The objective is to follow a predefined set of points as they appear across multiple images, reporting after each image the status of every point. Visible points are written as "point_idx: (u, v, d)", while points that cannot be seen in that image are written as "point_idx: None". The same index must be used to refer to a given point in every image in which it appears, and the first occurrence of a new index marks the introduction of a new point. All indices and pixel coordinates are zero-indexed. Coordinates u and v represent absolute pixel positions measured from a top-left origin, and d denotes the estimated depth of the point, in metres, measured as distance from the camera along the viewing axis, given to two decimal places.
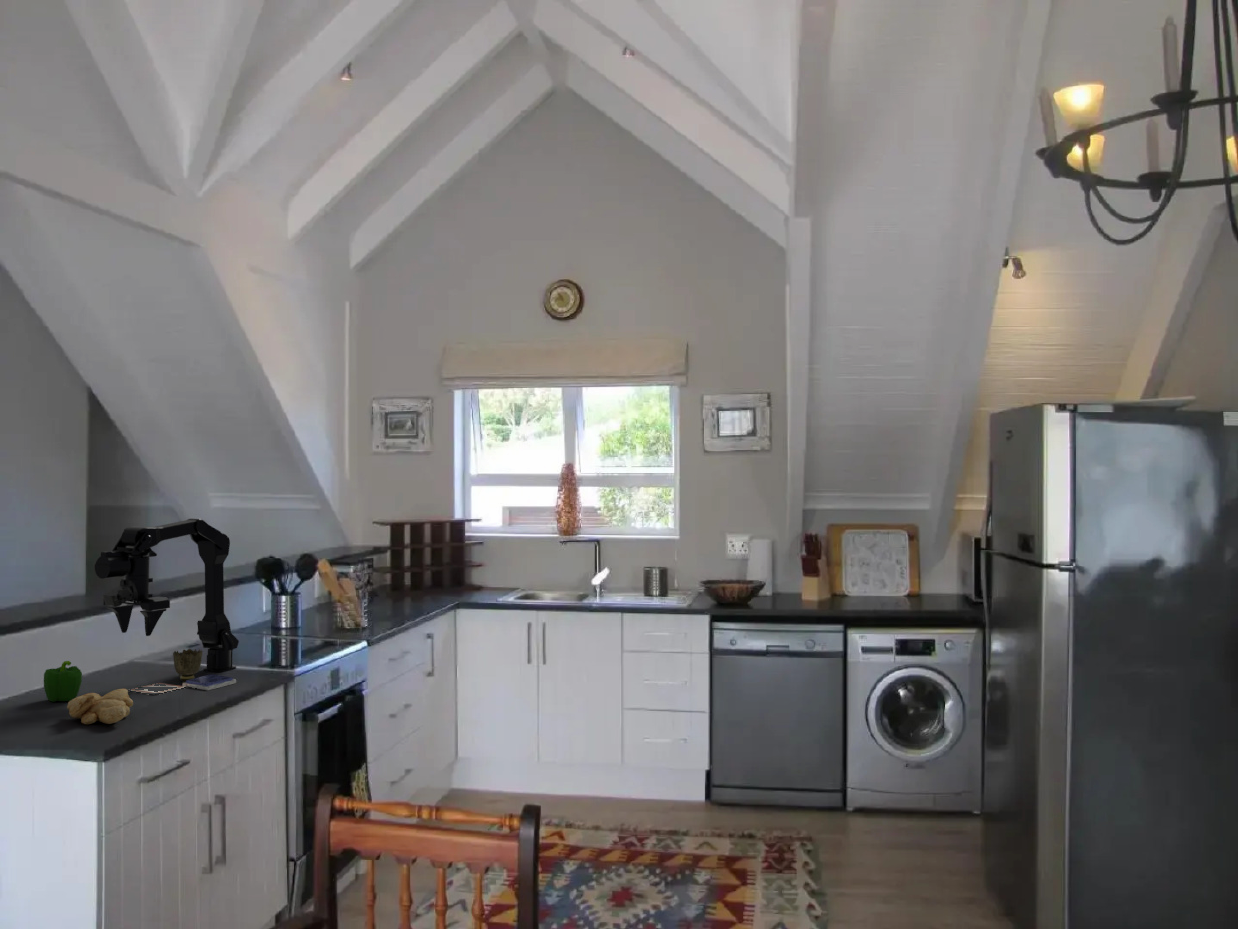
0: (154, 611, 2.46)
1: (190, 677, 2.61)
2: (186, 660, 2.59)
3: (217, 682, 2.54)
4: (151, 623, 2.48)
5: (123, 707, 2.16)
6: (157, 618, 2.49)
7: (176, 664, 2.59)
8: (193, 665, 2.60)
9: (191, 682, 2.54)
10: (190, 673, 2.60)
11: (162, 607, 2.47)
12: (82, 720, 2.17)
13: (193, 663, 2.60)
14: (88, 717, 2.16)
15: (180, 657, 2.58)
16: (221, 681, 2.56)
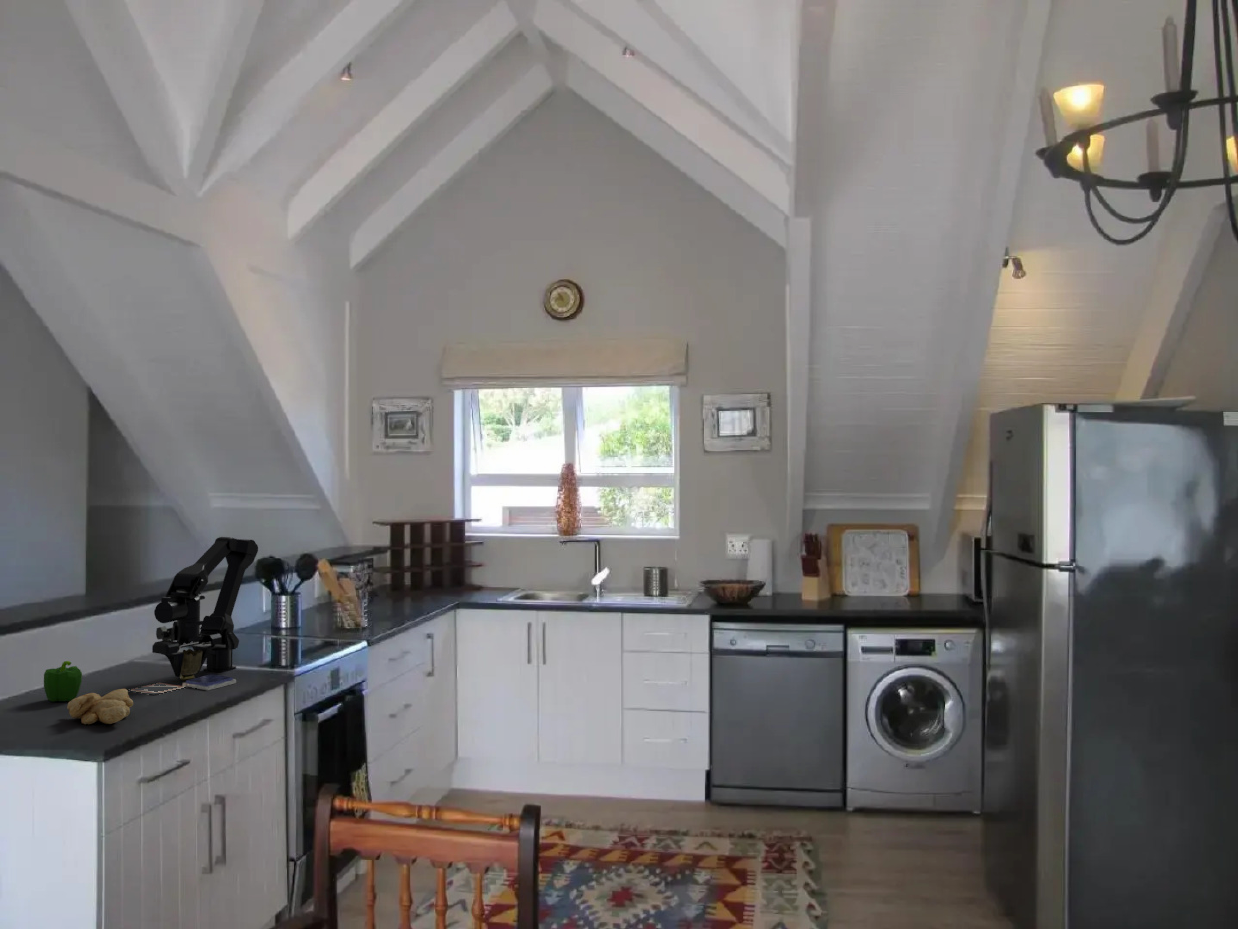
0: (164, 653, 2.56)
1: (190, 677, 2.61)
2: (186, 660, 2.59)
3: (217, 682, 2.54)
4: (175, 665, 2.58)
5: (123, 707, 2.16)
6: (177, 661, 2.57)
7: None
8: (193, 665, 2.60)
9: (191, 682, 2.54)
10: (190, 673, 2.60)
11: (160, 652, 2.53)
12: (82, 720, 2.17)
13: (193, 663, 2.60)
14: (88, 718, 2.16)
15: None
16: (221, 681, 2.56)
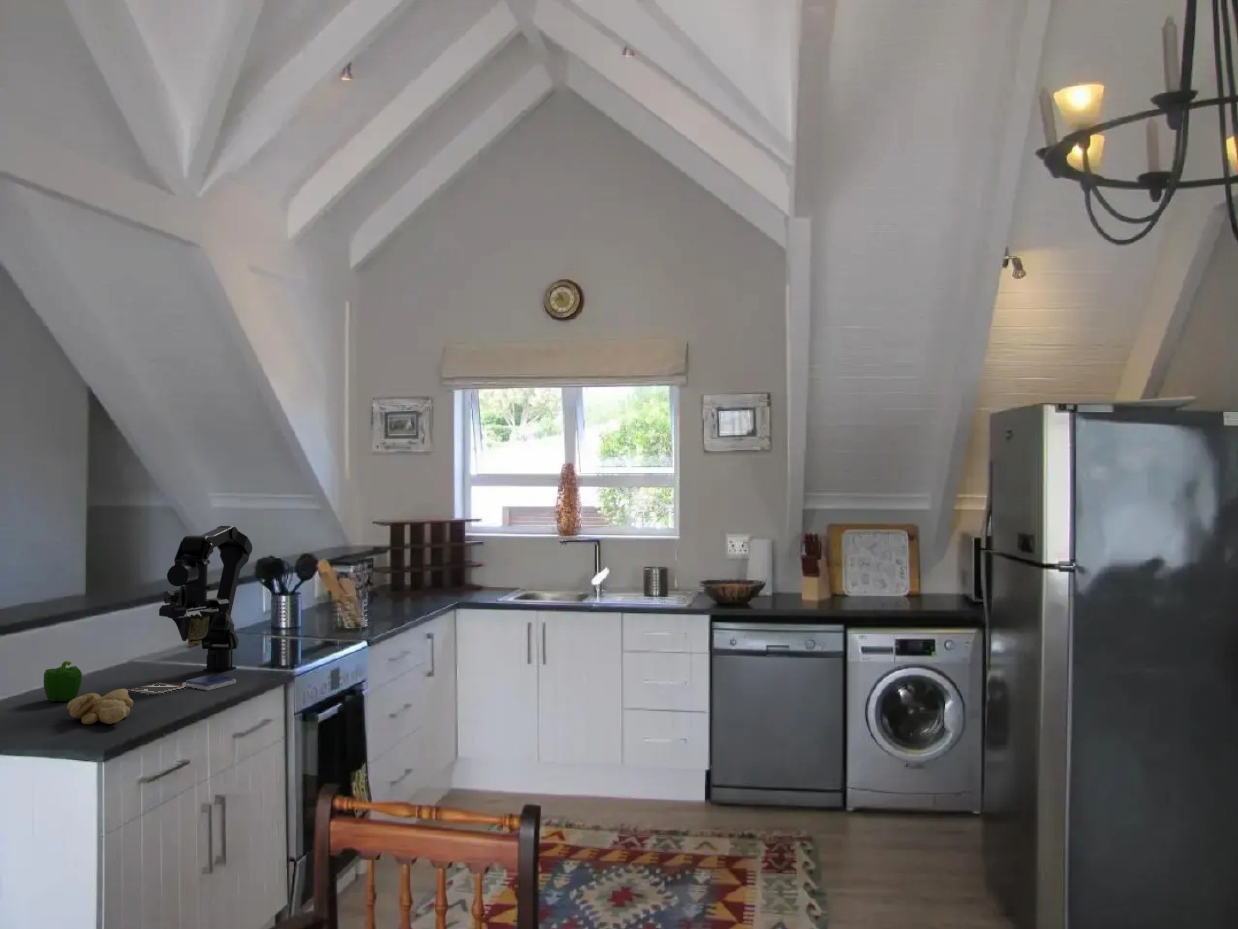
0: (171, 617, 2.55)
1: (197, 642, 2.59)
2: (193, 624, 2.57)
3: (217, 682, 2.54)
4: (182, 629, 2.56)
5: (123, 707, 2.16)
6: (183, 625, 2.55)
7: None
8: (200, 629, 2.58)
9: (191, 682, 2.54)
10: (197, 637, 2.58)
11: (166, 615, 2.52)
12: (82, 720, 2.17)
13: (200, 628, 2.58)
14: (88, 718, 2.16)
15: None
16: (221, 681, 2.56)
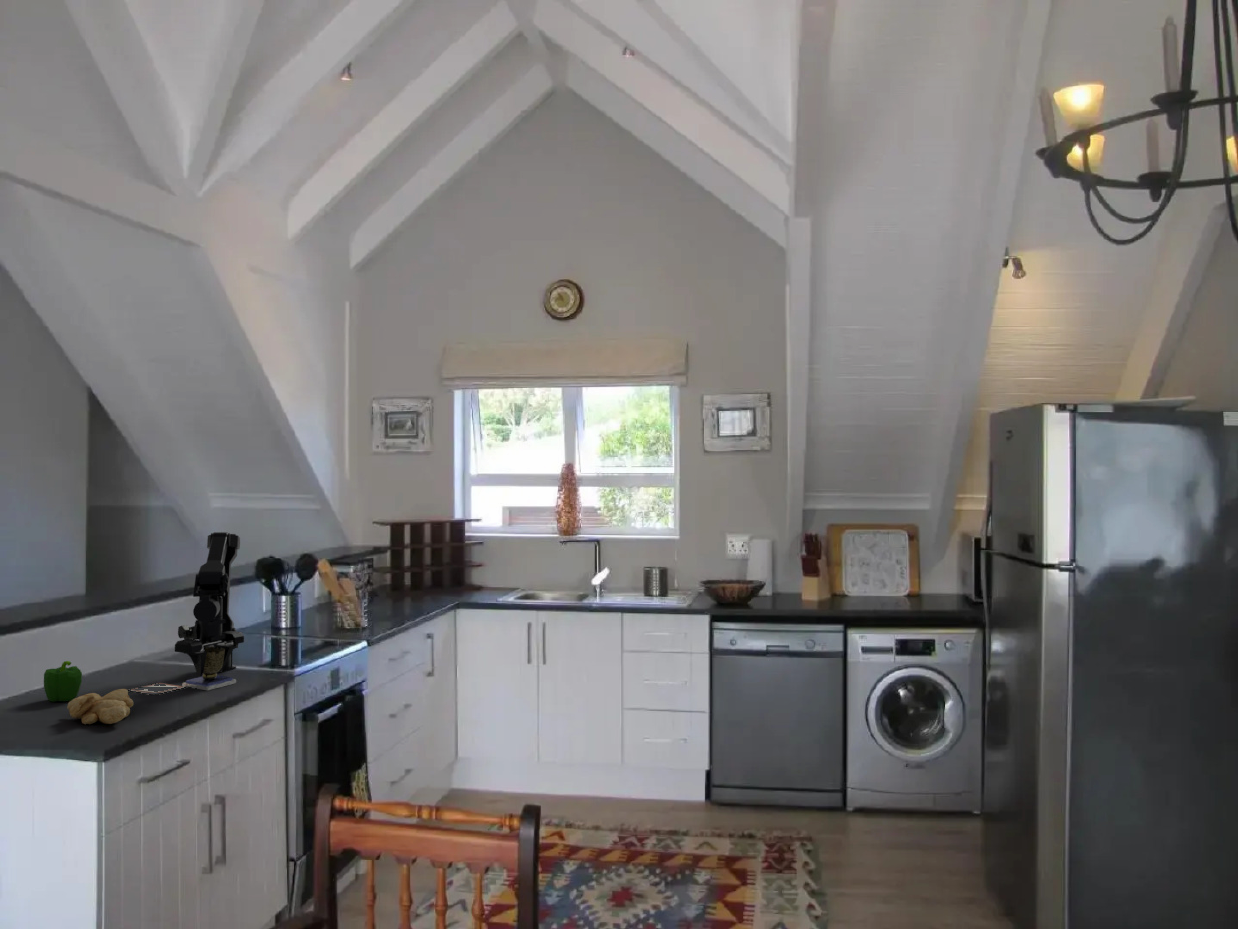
0: (187, 652, 2.52)
1: (212, 675, 2.56)
2: (209, 658, 2.54)
3: (217, 682, 2.54)
4: (197, 665, 2.53)
5: (123, 707, 2.16)
6: (199, 661, 2.52)
7: None
8: (216, 663, 2.55)
9: (191, 682, 2.54)
10: (213, 671, 2.55)
11: (182, 651, 2.49)
12: (82, 720, 2.17)
13: (216, 662, 2.55)
14: (89, 718, 2.16)
15: None
16: (221, 681, 2.56)
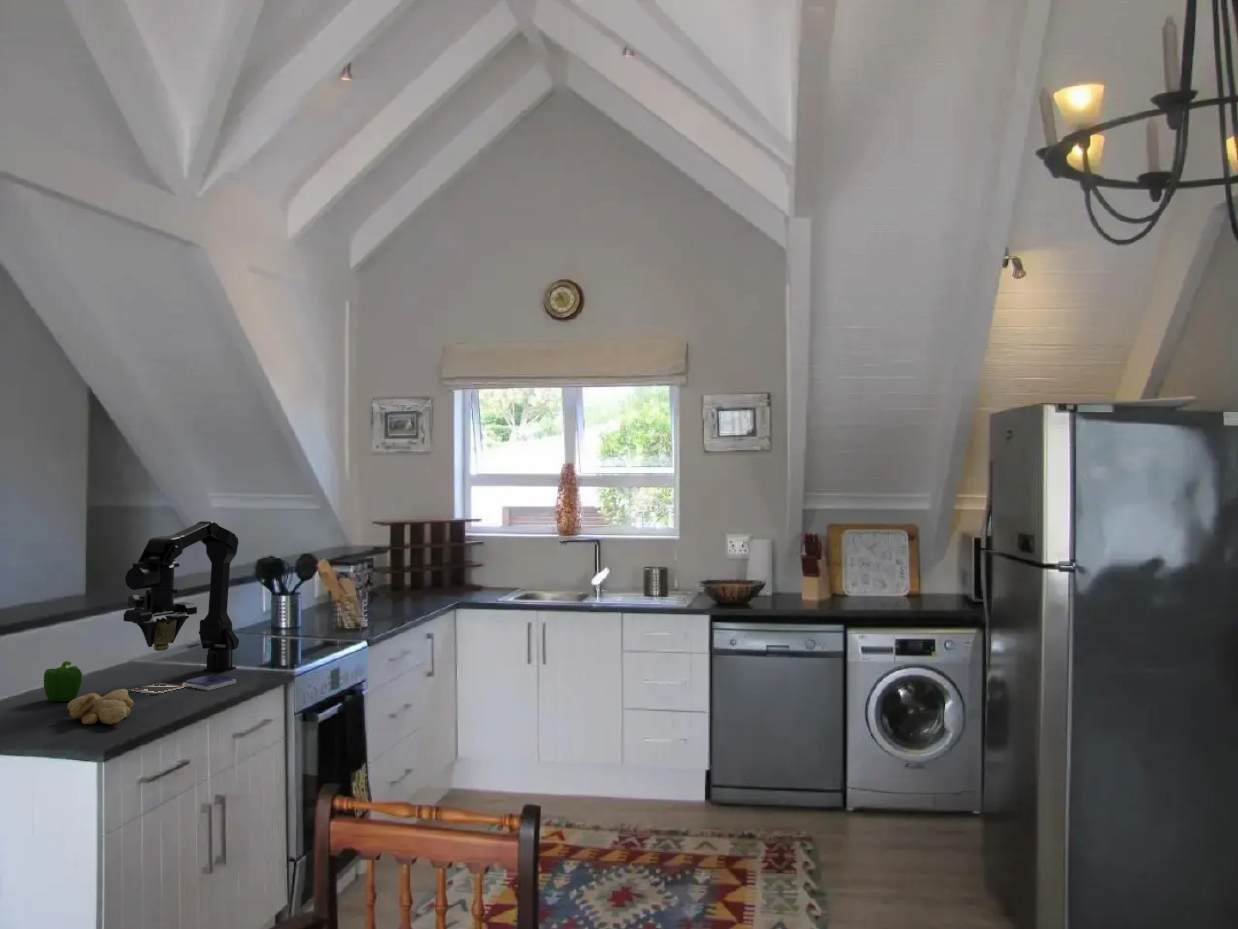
0: None
1: (164, 646, 2.50)
2: (159, 629, 2.48)
3: (217, 682, 2.54)
4: (147, 635, 2.47)
5: (123, 707, 2.16)
6: (149, 631, 2.46)
7: None
8: (167, 633, 2.49)
9: (191, 682, 2.54)
10: (164, 642, 2.49)
11: (131, 620, 2.42)
12: (82, 720, 2.17)
13: (167, 632, 2.49)
14: (89, 718, 2.16)
15: None
16: (221, 681, 2.56)
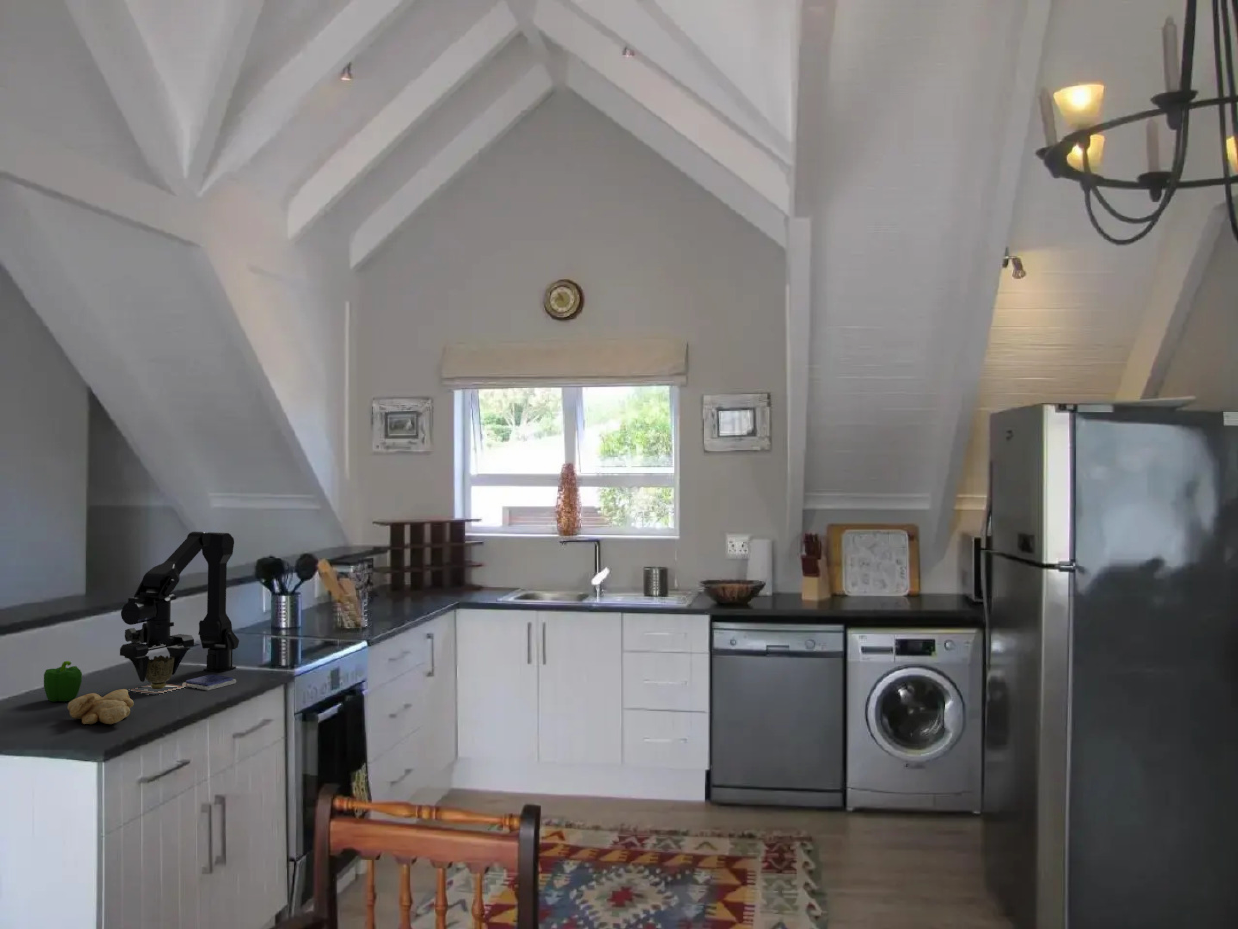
0: (128, 657, 2.44)
1: (161, 685, 2.50)
2: (157, 667, 2.48)
3: (217, 682, 2.54)
4: (140, 670, 2.46)
5: (124, 707, 2.16)
6: (141, 666, 2.45)
7: None
8: (164, 672, 2.49)
9: (191, 682, 2.54)
10: (161, 680, 2.49)
11: (127, 655, 2.42)
12: (83, 720, 2.16)
13: (164, 671, 2.49)
14: (89, 718, 2.16)
15: (150, 664, 2.48)
16: (221, 681, 2.56)
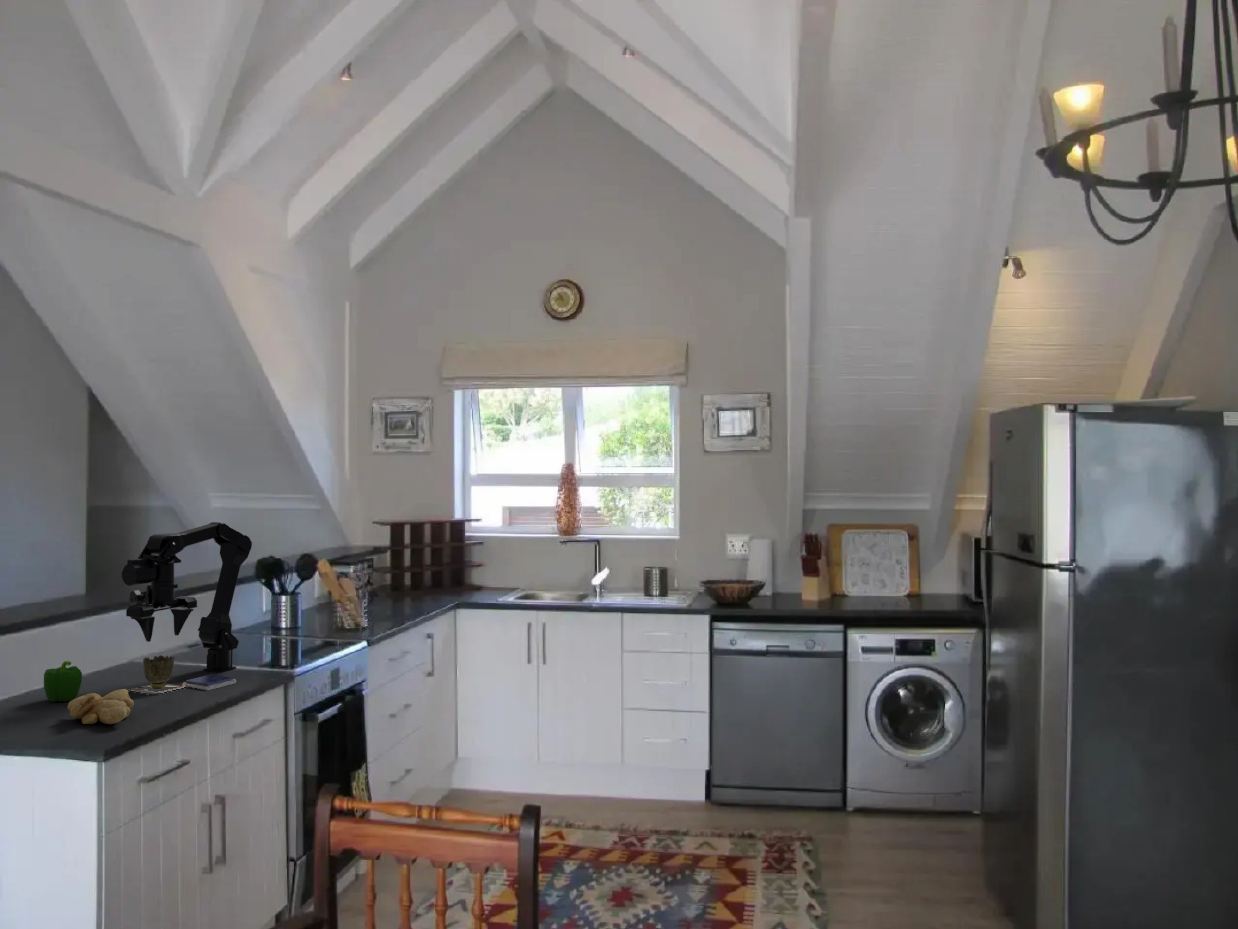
0: (134, 618, 2.51)
1: (161, 685, 2.50)
2: (157, 667, 2.48)
3: (217, 682, 2.54)
4: (146, 630, 2.53)
5: (124, 707, 2.16)
6: (147, 626, 2.52)
7: (146, 671, 2.48)
8: (164, 672, 2.49)
9: (191, 682, 2.54)
10: (161, 680, 2.49)
11: (134, 615, 2.49)
12: (83, 720, 2.16)
13: (164, 671, 2.49)
14: (89, 718, 2.16)
15: (150, 664, 2.48)
16: (221, 681, 2.56)
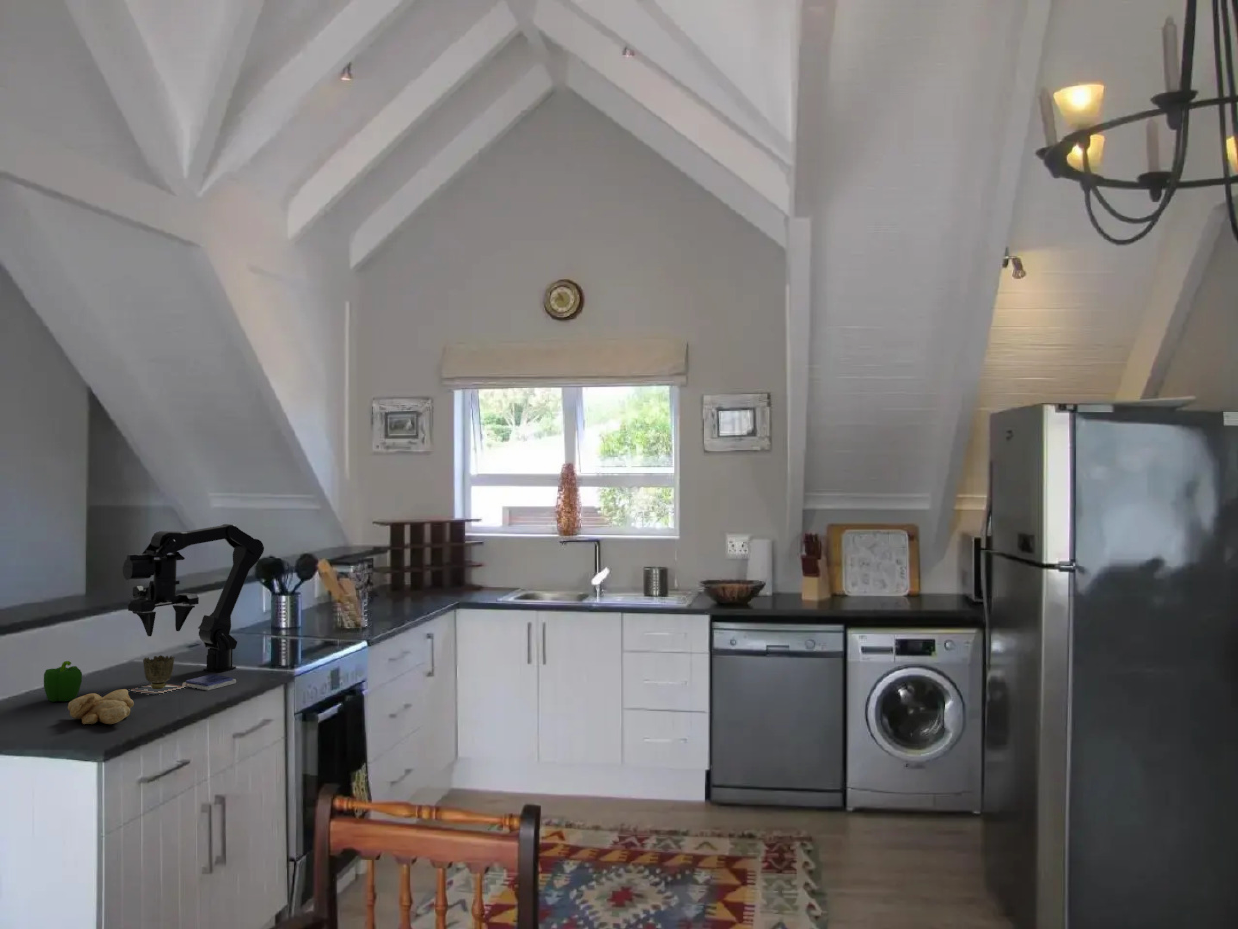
0: (136, 612, 2.56)
1: (161, 685, 2.50)
2: (157, 667, 2.48)
3: (217, 682, 2.54)
4: (147, 625, 2.58)
5: (124, 707, 2.16)
6: (149, 621, 2.57)
7: (146, 671, 2.48)
8: (164, 672, 2.49)
9: (191, 682, 2.54)
10: (161, 680, 2.49)
11: (135, 610, 2.54)
12: (83, 721, 2.16)
13: (164, 671, 2.49)
14: (89, 718, 2.16)
15: (150, 664, 2.48)
16: (221, 681, 2.56)
